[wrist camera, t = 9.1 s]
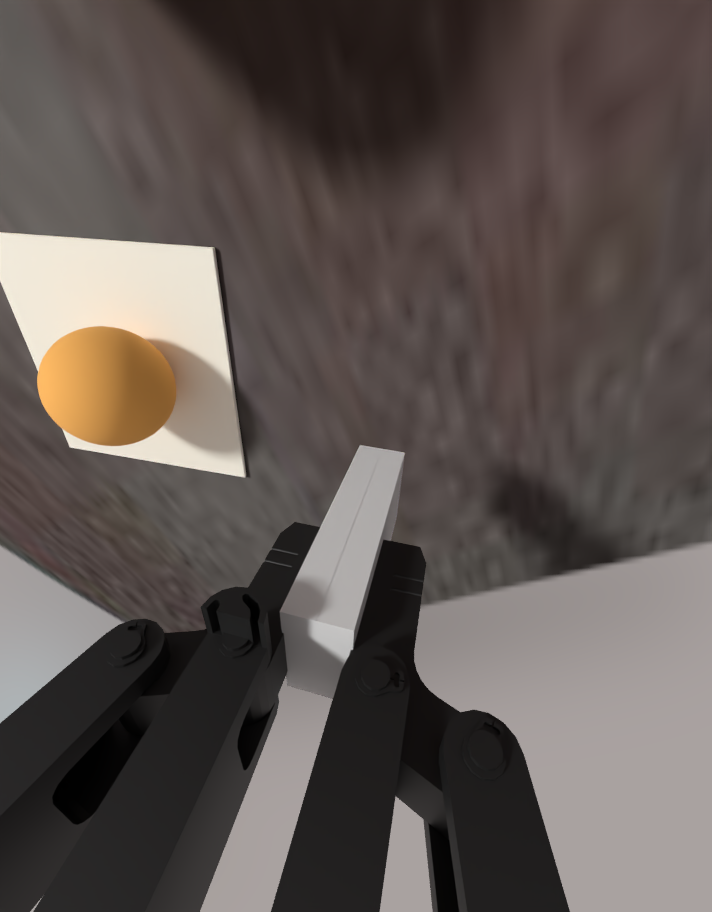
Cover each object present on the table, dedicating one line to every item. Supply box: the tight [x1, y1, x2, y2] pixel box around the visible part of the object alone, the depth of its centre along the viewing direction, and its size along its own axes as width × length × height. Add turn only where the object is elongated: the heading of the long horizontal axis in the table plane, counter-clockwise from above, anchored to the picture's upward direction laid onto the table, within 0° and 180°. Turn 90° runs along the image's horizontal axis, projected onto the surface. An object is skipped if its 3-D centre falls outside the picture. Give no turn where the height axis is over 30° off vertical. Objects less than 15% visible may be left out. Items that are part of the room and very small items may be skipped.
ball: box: [37, 326, 176, 446], centre depth 19 cm, size 6×6×6 cm
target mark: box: [0, 232, 247, 477], centre depth 21 cm, size 12×12×1 cm
